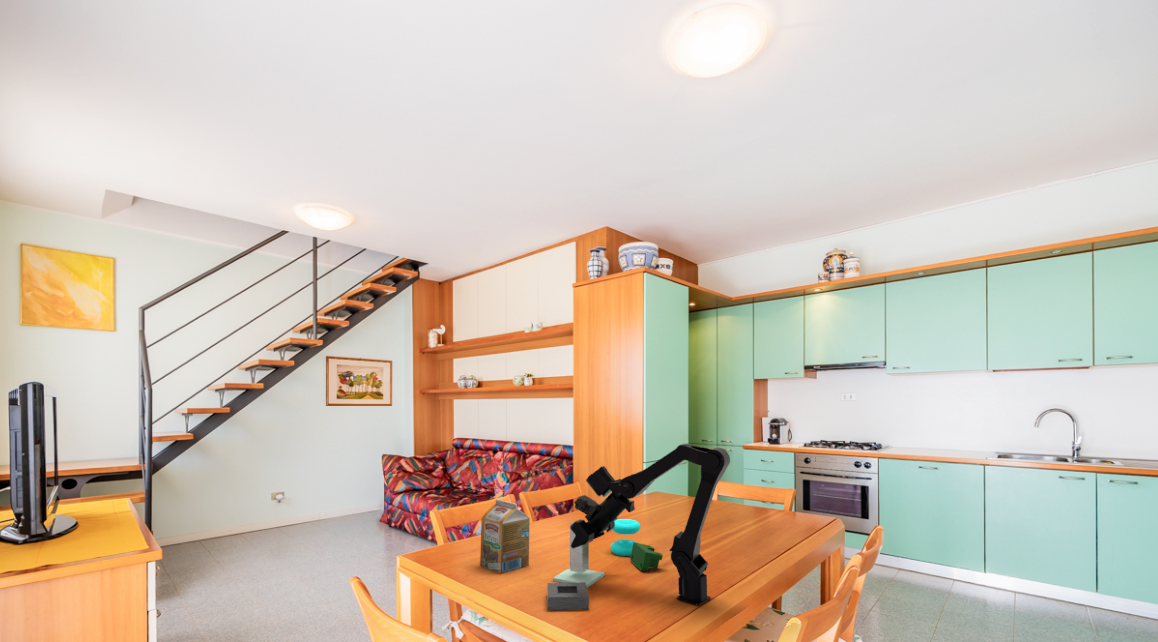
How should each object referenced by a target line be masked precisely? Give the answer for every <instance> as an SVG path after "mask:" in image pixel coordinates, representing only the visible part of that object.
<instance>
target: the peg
mask: <svg viewBox="0 0 1158 642" xmlns="http://www.w3.org/2000/svg"><path fill="white" fill-rule="evenodd" d="M576 521H577V520H574V521H573V522H570V523H569V568H570V571H573V572H578V573H583V572H585V571H586V570H590V568H589V567H590V566H589V565H590V564H589V562H590V561H589V555H590V553H589V552H590V551H589V549H590V546H589V543H587V544H585V545H581V546H579V547H576V548H572V547H571V544H572V542H573V540H574V538H575V536H576V535H575V534H574V532H573V531H572V530H571V528H570V526H571V525H572V524H573V523H574V522H576Z"/></svg>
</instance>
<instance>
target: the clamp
mask: <svg viewBox="0 0 1158 642" xmlns="http://www.w3.org/2000/svg"><path fill="white" fill-rule="evenodd" d="M635 542H636V541H635ZM635 542H634V543H633V547H632V552H631V556H629V557H630V562H631V563H632V564H633V565H634V566H635V567H636V568H637V569H638V570H639V571H641V572H646V571H649V570H650V568H651V569H655V568H659V563H660V561H662V560H663V555H664V554H662V553H661V552H657V551H656V550H655V549H656V548H655V547H653V546H651V545H649V544H644V543H639V542H637V543H635Z"/></svg>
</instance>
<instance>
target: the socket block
mask: <svg viewBox="0 0 1158 642" xmlns="http://www.w3.org/2000/svg"><path fill="white" fill-rule="evenodd" d="M546 598H547V602H546V603H547V611H550V612H551V611H589V604H590V603H589V601H590V599H589V598H590V597H589V592H588V588H587V587H586V582H579V583H561V582H547V597H546Z"/></svg>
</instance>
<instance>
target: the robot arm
mask: <svg viewBox="0 0 1158 642" xmlns="http://www.w3.org/2000/svg"><path fill="white" fill-rule="evenodd" d="M684 461H688V462H690V463H693V464H695V465H698V466H700V482H699V484H698V488H697V491H696V494H695V498H694V500H693V503H692V506H691V510H690V512H689V516H688V518H687V521H686V525H685V528H684V530H683V531H682V530H681V531H680V532H678V533H677V534H676V535H674V537H673V543H672V546H671V548H670V549H668V550H669V552H671V553H670V560H671V562H672V564H673V565H674V567H676V570H677V574H678V575H679V577H678V579H677V580H678V582H677V583H678V595H677V596H676V599H677V600H678V601H682V602H684V603H685V602H686V603H687V604H688V603H689V604H690V605H691V604H692V605H695V606H700V605H702V604H705V602H708V601H710V600H711V599H712V598H711V596H710V595H708V575H707V574H705V573H704V572H706V571H707V568H708V565H709V563H708V561H707V560H706V559H705V558H704V556H703V555H702V554H701V551H700V550H701V535H702V530H703V529H704V524H705V522H706V518H707V516H708V512H709V509H710V507H711V503H712V500H713V497H714V494H715V491H716V487H717V485H718V483H719V482H720V480H721V479H722V477H723V476H724V474H725V472H726V470H727V468H728V467H729V465H730V462H731V457H730V455H729V453H728V451H727V450H725V449H724V448H721V447H715V448H714V447H713V448H712V449H711V448H708V447H704V446H703V447H702V446H696V445H692V444H690V443H682V444H680V445H679V444H678V446H676V448H674V449H673V450H672V451H670V452H669V453H667V454H665V455H664V456H663V457H661V458H660V459H658V460H657V461H655V462H654V463H652V464H650V465H649V466H648V467H646V468H644V469H642V470H641V471H638V472H635V473H632V474H630V475H628V476H625V477H623V478H619V479H615V478H614V476H612V475H611V474H610V472H609V471H608V469H607V467H606V465H605V466H603V465H602V466H600V467H599V468H598V469H597V470H595V471H594V472H592V473H591V474H589V475H588V477H587V478H586V479H585V482H586V483H587V484H588V485H589V486H590V488H591V489H592V491H593V492H594V493H595V494H596V495H597V497H601V496H602V497H603V498H605V499H604V500H603V501H602V502H601V503H598V502H597V501H596V500H594V499H592V498H590V497H589V496H588V495H585V494H584V495H581V496H578V498H577V499H576V500H575V501H573V502H574V509H576V510H578V511H580V512H582V514H585V515H584V518H585V519H586V520H587V521H586V520H584V519H578V520H575V521H576V522H574V521H573V522H574V523H573V524H572V525H571V526H570V525H569V529H570V528H571V530H572V531H573V532H574V534H575V535H576V536H575V538H574V540H573V542H572V544H571V547H572V548H576V547H579V546H581V545H585V544H587V543H591V542H593V541H594V540H596V539H598V538H600V537H603V536H604V535H605V531H606V533H609V532H611V531H613V530H612V529H613V528H614V527H615V522H614V521H615V520H618V517H619V516H620V515H621V514H622V513H623V512H624V511H625V510H626V511H627V512H628V513H631V512H634V511H635V510H636V509H635V501H634V500H630V499H634V498H636V497H638V496H640V495H642V494H643V493H644V492H645V491H646V490H648V489H649V487H650V486H651V485H652V484H653V483H654V482H655V481H656V480H657V479H659V478H660V477H661V476H663V475H664V474H666V473H668V472H670V471H671V470H672V469H674V468H675V467H677V466H678V465H680V464H682V463H683V462H684ZM606 496H607V497H606Z"/></svg>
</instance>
